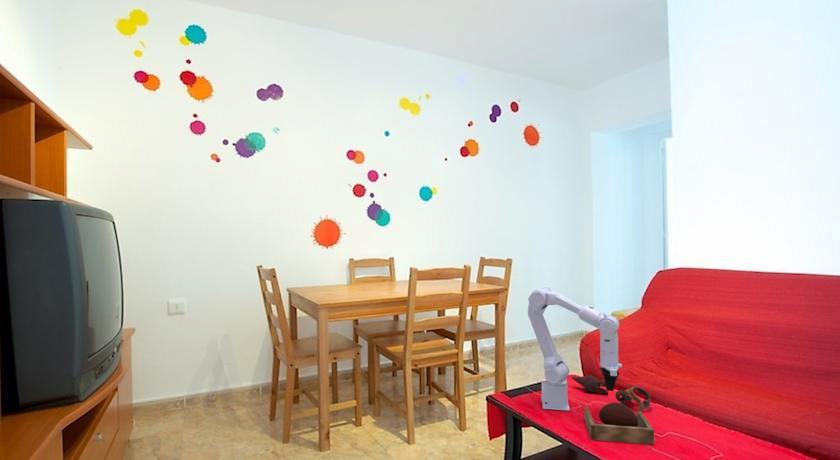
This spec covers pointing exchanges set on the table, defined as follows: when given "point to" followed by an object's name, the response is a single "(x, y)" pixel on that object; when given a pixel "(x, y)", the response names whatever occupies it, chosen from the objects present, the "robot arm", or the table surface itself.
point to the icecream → (591, 384)
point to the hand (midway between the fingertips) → (609, 390)
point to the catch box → (621, 430)
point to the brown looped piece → (633, 397)
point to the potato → (618, 415)
